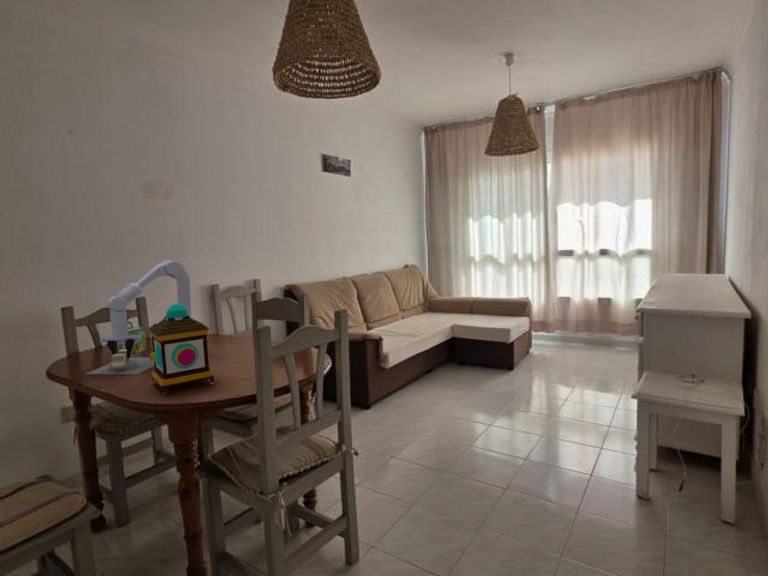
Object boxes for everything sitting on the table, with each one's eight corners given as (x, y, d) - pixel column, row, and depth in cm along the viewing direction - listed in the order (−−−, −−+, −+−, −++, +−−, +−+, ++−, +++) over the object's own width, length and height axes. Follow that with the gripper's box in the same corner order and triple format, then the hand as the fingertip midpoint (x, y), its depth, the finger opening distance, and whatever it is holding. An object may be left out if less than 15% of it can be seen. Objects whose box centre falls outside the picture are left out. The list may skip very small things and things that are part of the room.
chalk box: (134, 355, 209) (131, 324, 207) (116, 355, 210) (113, 323, 208) (147, 350, 218) (145, 320, 216) (130, 350, 219) (128, 320, 217)
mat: (171, 358, 200) (171, 357, 200) (137, 375, 177) (137, 373, 177) (125, 358, 203) (125, 357, 202) (85, 375, 179) (85, 373, 179)
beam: (123, 365, 179) (122, 355, 179) (112, 366, 178) (111, 356, 178) (132, 357, 191) (131, 348, 190) (122, 358, 190) (121, 349, 189)
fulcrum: (138, 366, 187) (137, 360, 186) (131, 369, 183) (131, 363, 182) (115, 366, 188) (114, 360, 187) (108, 369, 184) (108, 363, 183)
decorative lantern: (147, 384, 165) (139, 303, 162) (203, 373, 177) (197, 297, 174) (158, 398, 150) (150, 309, 146) (219, 385, 161) (213, 302, 158)
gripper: (141, 322, 189) (144, 354, 190) (103, 325, 185) (106, 357, 187) (136, 325, 182) (139, 358, 183) (96, 328, 178) (100, 361, 180)
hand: (122, 358), depth 185 cm, fingers open, 4 cm apart
